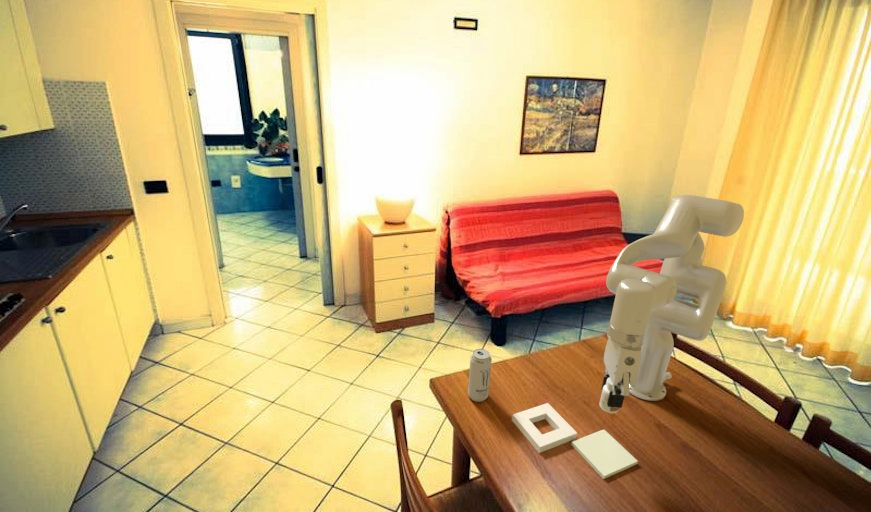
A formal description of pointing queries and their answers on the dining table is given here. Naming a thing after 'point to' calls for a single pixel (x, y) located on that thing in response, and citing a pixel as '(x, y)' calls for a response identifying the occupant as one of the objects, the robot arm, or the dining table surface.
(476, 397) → the energy drink can
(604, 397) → the pill bottle
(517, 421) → the collar
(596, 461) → the pad
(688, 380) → the dining table surface
